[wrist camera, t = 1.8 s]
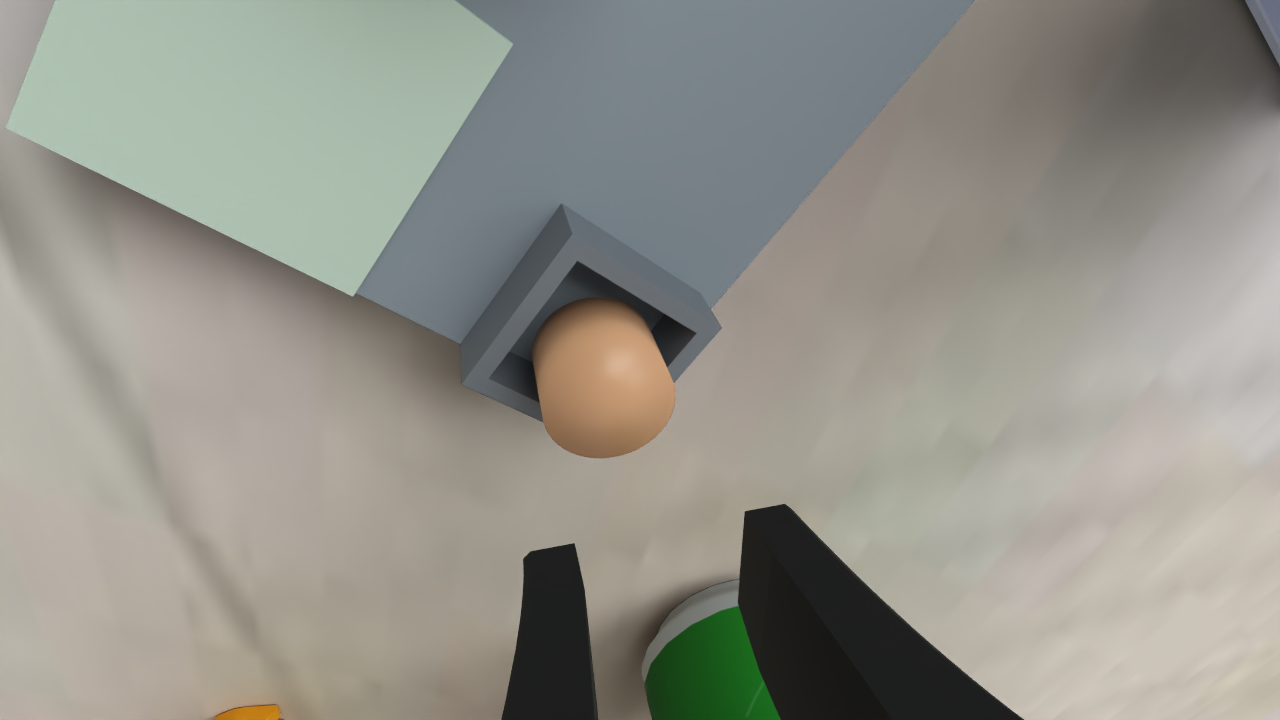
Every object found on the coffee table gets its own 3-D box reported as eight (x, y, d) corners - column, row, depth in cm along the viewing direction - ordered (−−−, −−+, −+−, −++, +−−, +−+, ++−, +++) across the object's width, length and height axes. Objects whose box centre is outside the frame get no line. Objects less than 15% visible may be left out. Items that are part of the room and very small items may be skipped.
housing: (974, -90, 16) (1110, -83, 13) (599, 368, 20) (628, 461, 17) (445, -809, 9) (444, -1170, 6) (72, 90, 14) (-41, 155, 11)
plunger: (675, 332, 16) (702, 385, 14) (604, 416, 16) (622, 475, 15) (579, 275, 14) (595, 325, 13) (508, 369, 15) (514, 427, 14)
